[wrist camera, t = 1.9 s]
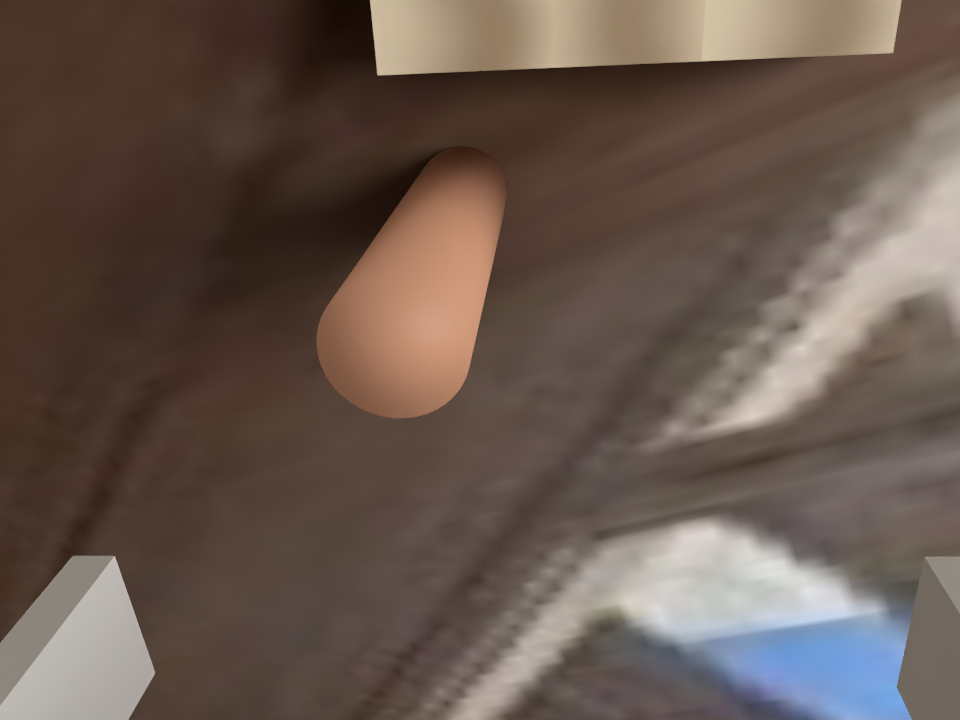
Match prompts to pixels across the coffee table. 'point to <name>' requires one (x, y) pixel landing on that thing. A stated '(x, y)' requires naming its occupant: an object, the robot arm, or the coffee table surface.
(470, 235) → the pin
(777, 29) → the bore block
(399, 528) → the coffee table surface
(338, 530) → the coffee table surface
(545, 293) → the coffee table surface
